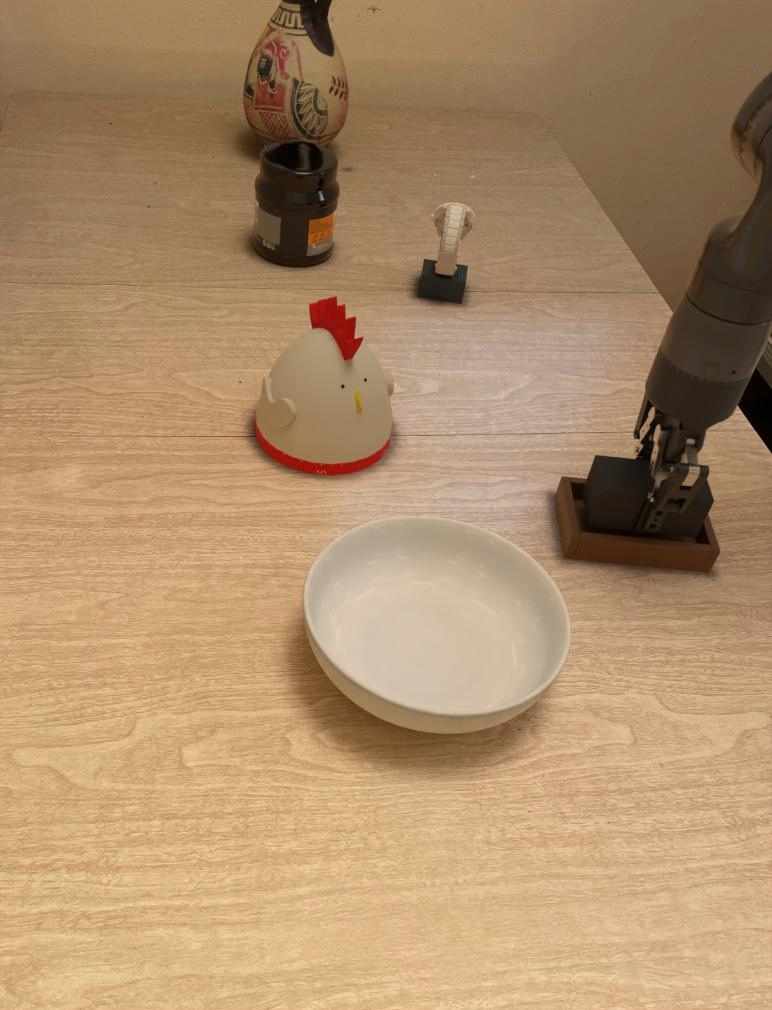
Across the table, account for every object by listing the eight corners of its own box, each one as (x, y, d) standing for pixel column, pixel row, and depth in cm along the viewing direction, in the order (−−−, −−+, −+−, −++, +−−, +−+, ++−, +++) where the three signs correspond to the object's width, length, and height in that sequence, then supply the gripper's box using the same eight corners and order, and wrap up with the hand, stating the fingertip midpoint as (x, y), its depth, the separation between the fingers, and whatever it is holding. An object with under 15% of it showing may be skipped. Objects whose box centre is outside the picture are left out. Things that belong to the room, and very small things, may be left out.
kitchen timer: (297, 492, 92) (308, 357, 81) (231, 413, 100) (234, 280, 89) (415, 453, 98) (441, 322, 87) (345, 381, 105) (360, 252, 94)
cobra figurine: (464, 281, 123) (481, 196, 115) (460, 313, 117) (478, 226, 109) (420, 274, 123) (435, 189, 115) (414, 305, 118) (429, 218, 110)
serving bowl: (493, 815, 70) (515, 762, 65) (248, 690, 76) (251, 632, 71) (584, 633, 83) (608, 577, 78) (369, 538, 89) (378, 481, 84)
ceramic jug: (219, 149, 144) (221, -92, 122) (288, 124, 152) (300, -106, 131) (305, 188, 137) (323, -59, 115) (371, 160, 146) (400, -76, 124)
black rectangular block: (685, 502, 92) (702, 465, 88) (696, 538, 88) (714, 501, 85) (581, 491, 91) (595, 454, 88) (588, 527, 88) (603, 489, 85)
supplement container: (350, 253, 125) (360, 160, 116) (293, 279, 119) (300, 183, 111) (292, 223, 130) (298, 131, 121) (235, 246, 124) (237, 151, 115)
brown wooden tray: (689, 513, 95) (700, 489, 93) (708, 574, 89) (721, 551, 87) (553, 499, 95) (561, 475, 92) (563, 560, 89) (572, 536, 87)
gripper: (779, 409, 72) (696, 568, 85) (733, 309, 82) (665, 465, 94) (680, 399, 72) (611, 560, 85) (647, 300, 82) (590, 457, 94)
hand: (640, 509), depth 89 cm, fingers closed on black rectangular block, 5 cm apart
